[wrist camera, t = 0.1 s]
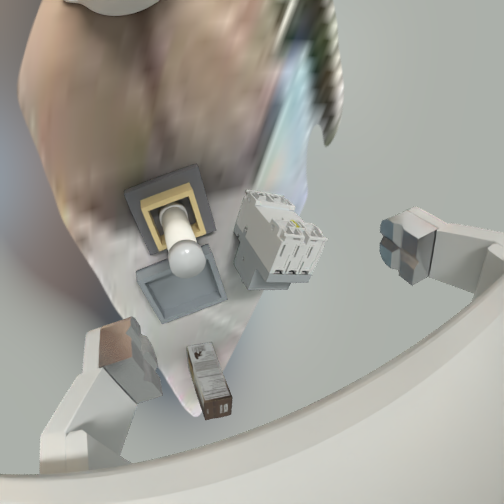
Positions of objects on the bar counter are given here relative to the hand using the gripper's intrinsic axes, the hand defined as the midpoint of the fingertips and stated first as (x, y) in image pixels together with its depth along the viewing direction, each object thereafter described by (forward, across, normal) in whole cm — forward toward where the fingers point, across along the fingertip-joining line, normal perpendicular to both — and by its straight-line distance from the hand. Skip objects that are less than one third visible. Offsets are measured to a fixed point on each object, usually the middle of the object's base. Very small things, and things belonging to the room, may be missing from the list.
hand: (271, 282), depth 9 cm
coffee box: (+44, +10, +51) cm, 68 cm away
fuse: (+39, +3, +12) cm, 41 cm away
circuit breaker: (+41, -10, +21) cm, 47 cm away
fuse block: (+40, +3, +12) cm, 42 cm away
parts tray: (+42, +6, +27) cm, 50 cm away
